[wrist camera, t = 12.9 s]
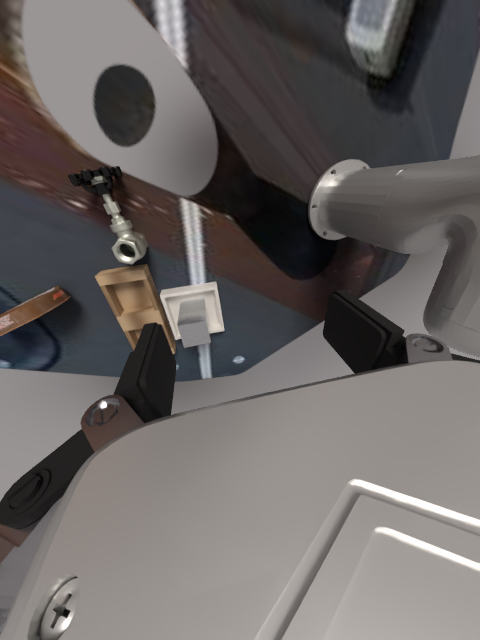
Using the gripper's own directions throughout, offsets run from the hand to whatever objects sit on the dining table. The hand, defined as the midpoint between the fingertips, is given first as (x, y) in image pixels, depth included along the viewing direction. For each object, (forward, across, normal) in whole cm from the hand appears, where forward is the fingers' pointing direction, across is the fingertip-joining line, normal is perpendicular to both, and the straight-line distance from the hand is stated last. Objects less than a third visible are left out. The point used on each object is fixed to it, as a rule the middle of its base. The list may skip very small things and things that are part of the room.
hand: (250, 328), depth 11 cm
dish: (+30, +6, +15) cm, 34 cm away
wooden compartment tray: (+30, +17, +14) cm, 37 cm away
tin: (+31, +34, +8) cm, 46 cm away
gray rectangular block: (+30, +6, +15) cm, 34 cm away
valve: (+31, +14, -4) cm, 34 cm away
